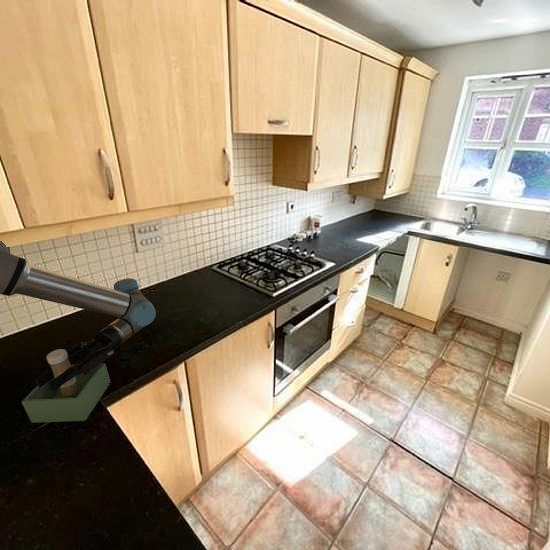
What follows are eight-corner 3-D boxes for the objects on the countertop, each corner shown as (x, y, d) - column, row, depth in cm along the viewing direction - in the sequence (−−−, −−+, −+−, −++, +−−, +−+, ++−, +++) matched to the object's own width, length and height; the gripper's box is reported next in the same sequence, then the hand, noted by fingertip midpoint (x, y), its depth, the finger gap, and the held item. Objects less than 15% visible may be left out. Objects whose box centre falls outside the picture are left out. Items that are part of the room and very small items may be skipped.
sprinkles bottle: (60, 391, 87) (44, 353, 82) (78, 383, 90) (64, 346, 85) (63, 399, 84) (47, 361, 79) (81, 391, 87) (67, 353, 82)
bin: (31, 422, 82) (21, 401, 79) (64, 383, 95) (57, 364, 92) (85, 420, 82) (77, 399, 79) (111, 382, 95) (105, 362, 92)
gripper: (136, 349, 99) (72, 403, 78) (96, 340, 104) (26, 388, 84) (132, 330, 96) (64, 381, 75) (90, 322, 101) (16, 367, 81)
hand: (44, 385), depth 80 cm, fingers closed on sprinkles bottle, 4 cm apart
